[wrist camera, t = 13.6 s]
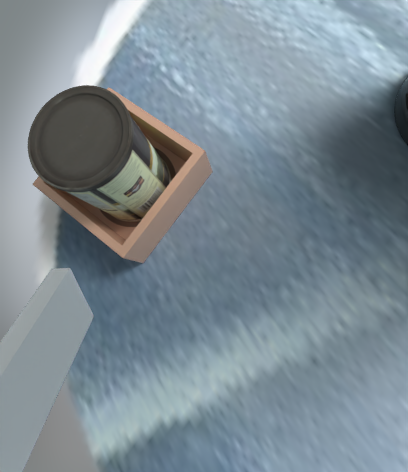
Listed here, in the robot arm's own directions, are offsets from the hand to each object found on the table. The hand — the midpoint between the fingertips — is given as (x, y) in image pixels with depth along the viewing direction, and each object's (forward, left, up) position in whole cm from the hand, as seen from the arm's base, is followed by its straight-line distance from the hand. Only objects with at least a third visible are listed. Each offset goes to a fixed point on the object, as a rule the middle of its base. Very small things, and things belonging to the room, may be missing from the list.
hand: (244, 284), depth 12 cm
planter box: (-2, -21, -28) cm, 34 cm away
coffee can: (-2, -21, -27) cm, 34 cm away
